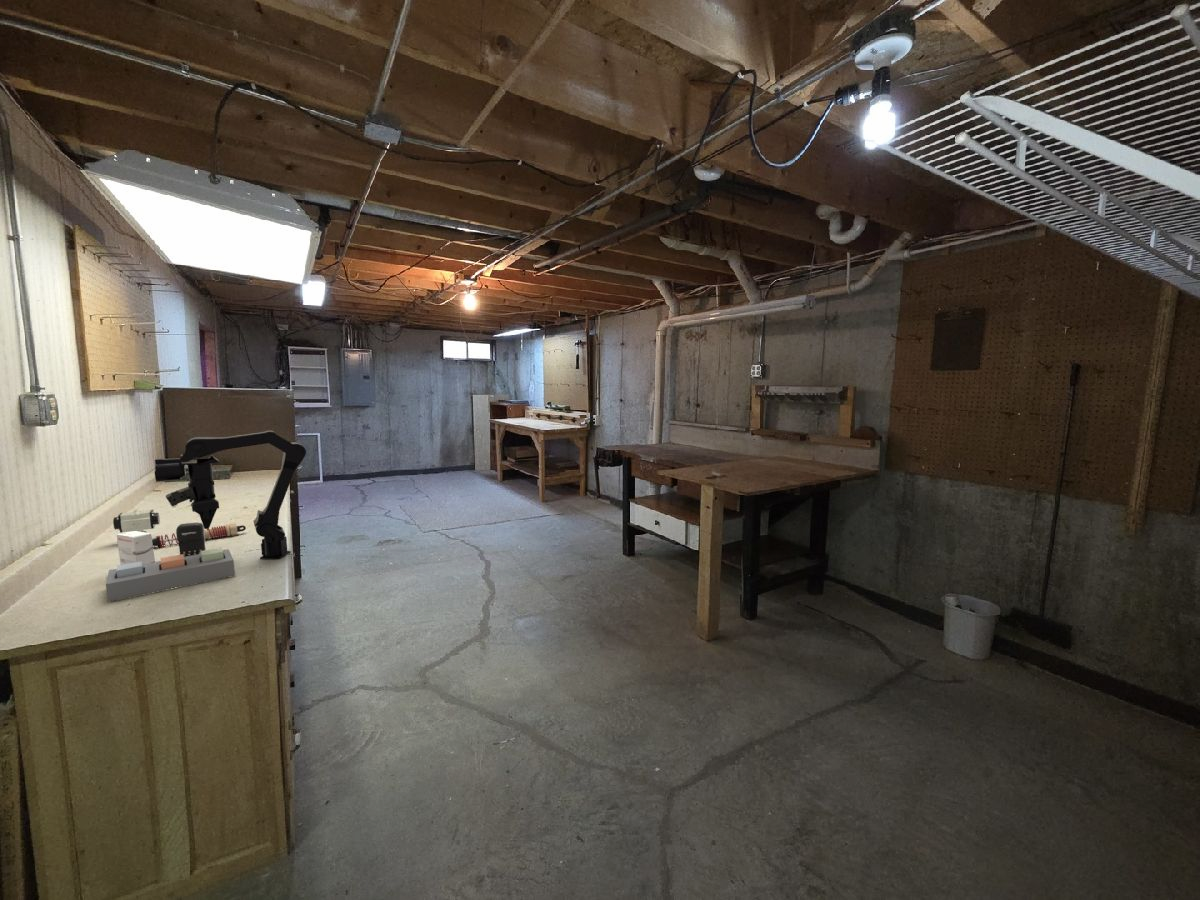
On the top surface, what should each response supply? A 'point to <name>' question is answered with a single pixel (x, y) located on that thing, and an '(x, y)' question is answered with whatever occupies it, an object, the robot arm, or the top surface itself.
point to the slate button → (129, 569)
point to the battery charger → (191, 538)
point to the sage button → (212, 554)
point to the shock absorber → (209, 533)
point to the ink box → (135, 547)
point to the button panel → (168, 576)
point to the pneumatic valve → (136, 521)
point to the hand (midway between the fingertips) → (206, 527)
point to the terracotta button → (172, 561)
